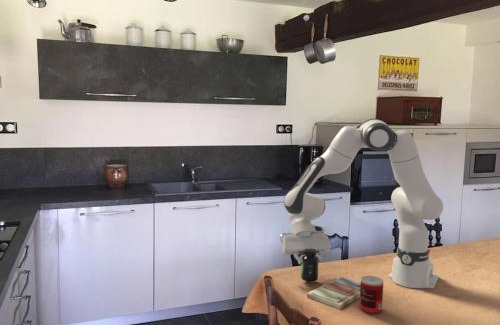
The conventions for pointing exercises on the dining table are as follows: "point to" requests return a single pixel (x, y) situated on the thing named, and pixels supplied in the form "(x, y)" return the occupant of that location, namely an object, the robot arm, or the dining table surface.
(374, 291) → the canned food
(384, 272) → the dining table surface
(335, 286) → the tile board
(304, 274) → the supplement bottle
